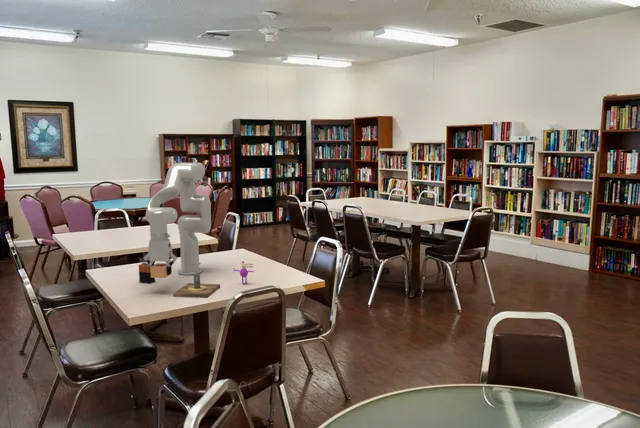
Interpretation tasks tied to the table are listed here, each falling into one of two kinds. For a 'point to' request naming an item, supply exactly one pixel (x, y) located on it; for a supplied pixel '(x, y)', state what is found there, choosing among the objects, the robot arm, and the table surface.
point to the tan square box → (159, 270)
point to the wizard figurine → (244, 271)
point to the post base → (196, 289)
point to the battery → (145, 273)
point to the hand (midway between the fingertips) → (161, 273)
